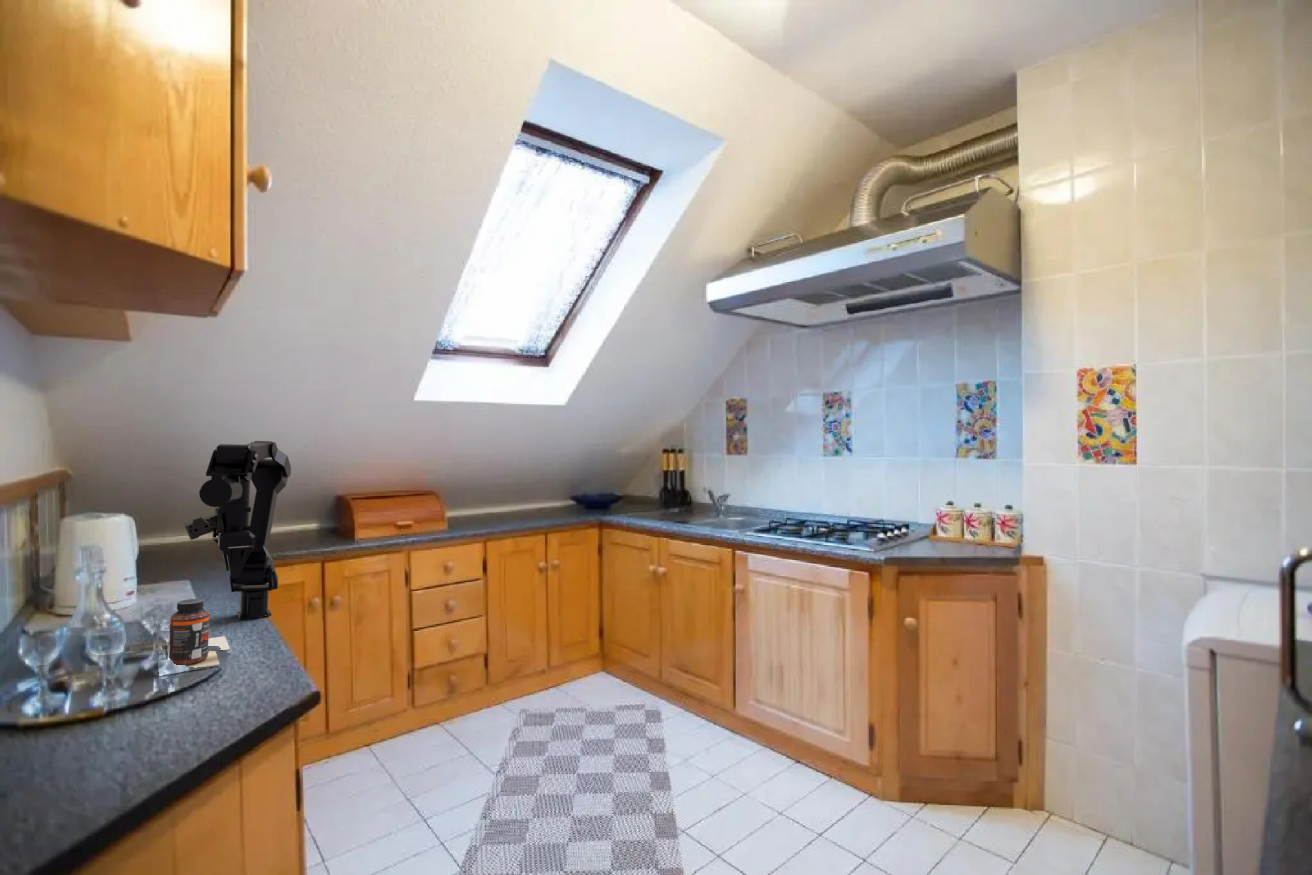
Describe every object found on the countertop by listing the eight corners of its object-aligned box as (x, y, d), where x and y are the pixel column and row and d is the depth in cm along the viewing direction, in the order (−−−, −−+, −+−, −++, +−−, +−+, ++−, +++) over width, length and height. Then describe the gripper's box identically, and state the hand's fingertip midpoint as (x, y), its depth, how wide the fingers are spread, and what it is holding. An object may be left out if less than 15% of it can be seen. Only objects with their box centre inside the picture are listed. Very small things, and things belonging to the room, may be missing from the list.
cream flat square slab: (165, 645, 129) (165, 644, 129) (225, 636, 135) (225, 635, 135) (167, 659, 121) (167, 658, 121) (230, 649, 127) (230, 648, 127)
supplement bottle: (207, 663, 118) (209, 602, 118) (167, 669, 114) (169, 606, 115) (208, 653, 123) (210, 595, 123) (169, 659, 119) (171, 599, 119)
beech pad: (157, 662, 119) (157, 659, 119) (215, 653, 125) (215, 650, 125) (158, 676, 112) (158, 673, 112) (219, 666, 118) (219, 663, 118)
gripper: (185, 499, 139) (183, 570, 138) (190, 508, 124) (187, 587, 124) (245, 498, 146) (243, 565, 145) (256, 505, 131) (254, 580, 131)
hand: (231, 574), depth 136 cm, fingers open, 9 cm apart
